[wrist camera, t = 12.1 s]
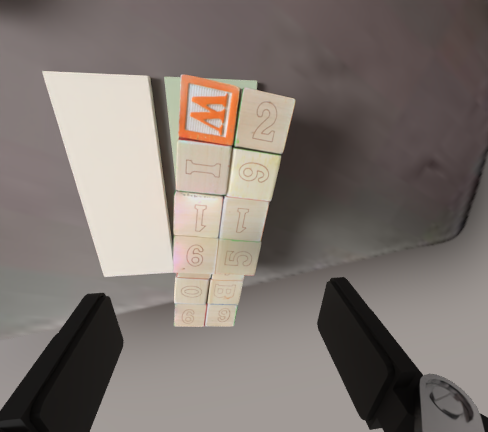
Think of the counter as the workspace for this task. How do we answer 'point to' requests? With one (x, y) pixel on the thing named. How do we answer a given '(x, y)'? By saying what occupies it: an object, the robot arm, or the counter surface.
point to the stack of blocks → (222, 193)
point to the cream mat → (116, 167)
